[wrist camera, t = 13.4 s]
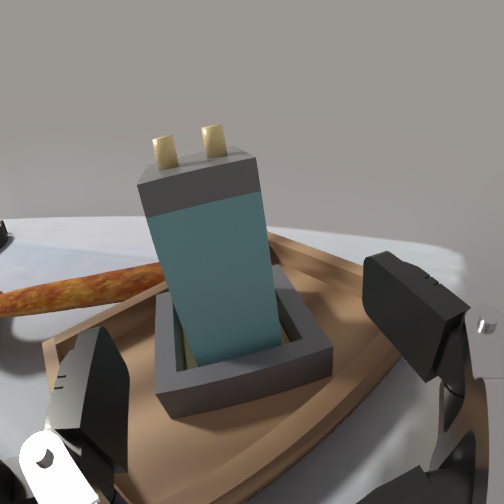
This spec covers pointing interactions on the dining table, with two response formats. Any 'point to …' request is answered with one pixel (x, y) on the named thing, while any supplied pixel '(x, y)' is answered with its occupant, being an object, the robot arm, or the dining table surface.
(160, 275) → the bone
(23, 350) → the dining table surface
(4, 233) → the belt
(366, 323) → the walled box
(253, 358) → the socket
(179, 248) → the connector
